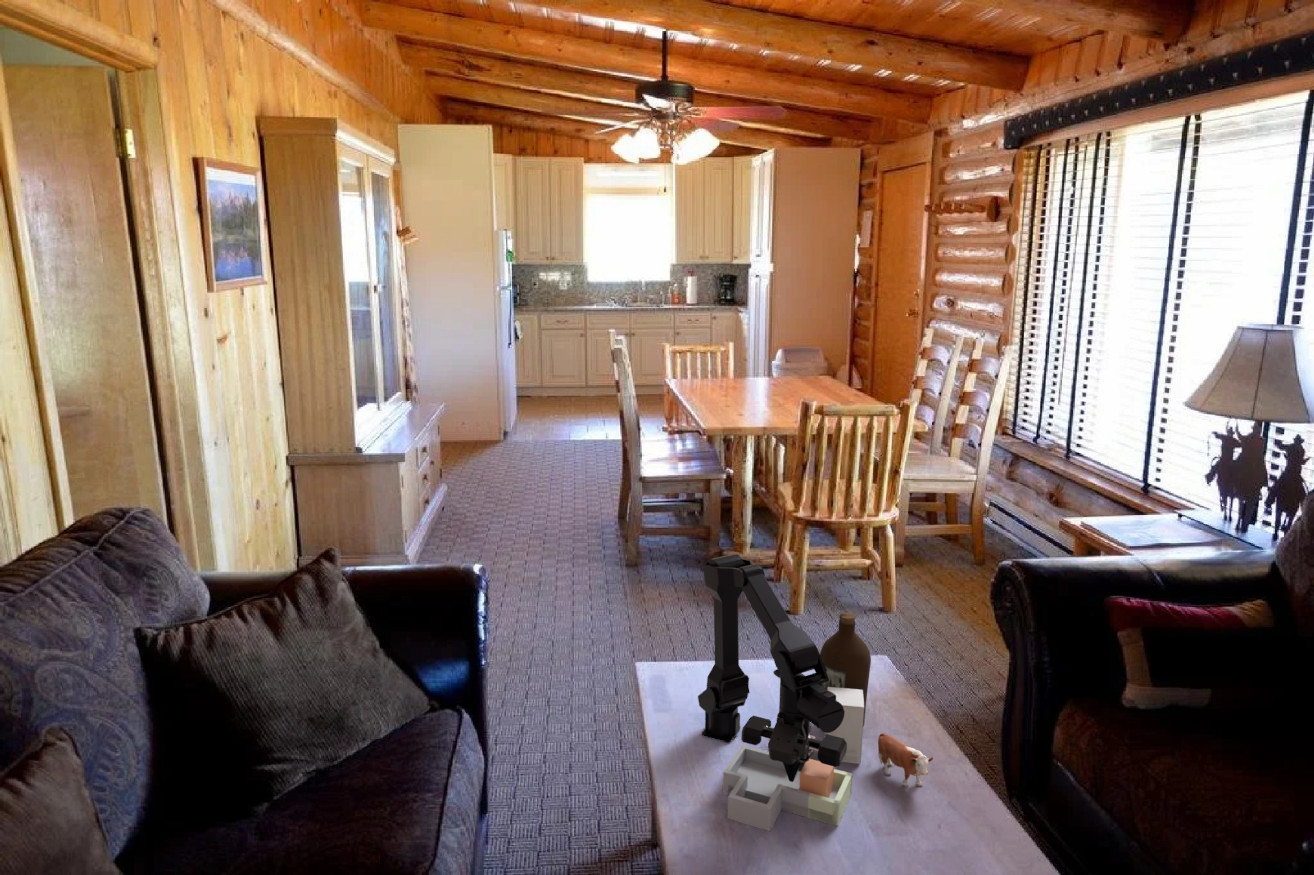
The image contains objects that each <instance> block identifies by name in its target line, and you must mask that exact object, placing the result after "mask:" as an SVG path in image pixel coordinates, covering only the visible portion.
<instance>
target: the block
mask: <svg viewBox="0 0 1314 875" xmlns="http://www.w3.org/2000/svg"><path fill="white" fill-rule="evenodd" d="M833 778H834V766H830V765H826V764H823V763H821V762H820V761H816V760H813V759H809V761H807V762H806V763H805V765H804V767H803V768H802V770H801V772H800V784H799V790H802V791H806V792H809V793H813V794H816V795H820V796H823V797H827V798H829V796H830V794H831V792H832V790H833Z"/></svg>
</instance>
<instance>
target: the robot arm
mask: <svg viewBox="0 0 1314 875" xmlns="http://www.w3.org/2000/svg"><path fill="white" fill-rule="evenodd" d="M703 577H704V581H705V587H706V589H707V590H708V592H709V593H710V594H711V596H712V597H713V626H714V628H713V630H714V632H713V633H714V634H713V636H714V664H713V666H712V668H711V670H710V671H709V672H708V673H709V674H708V675H707V679H706V681H707V682H706V689H705V690H704V691H702V692H701V693H700V694H699V695H697V700H698V706H699V707H700V708H701V709H702V710H703V711H704V715H705V716H704V730H702V733H701V736H702V737H705V738H710V739H713V740H717V741H721V742H723V743H724V742H725V743H729V744H730V743H732V741H733V740H734V738H736V736H737V735H738V733H739V732H740V731H741V736H740V737H741V739H740V740H741V742H743V743H745V744H748V745H752V746H758V745H759V744H761V742H762V738H767V739H769V740H768V743H767V747H768V748H767V749H768V752H769V757H770V759H771V760H774V761H776V760H777V761H780V762H783V765H784V768H785V770H786V773H787V776H788V779H789V781H791V782H793V781H794V779H795V777H796V775H797V773H798V770H799V768H800V766H801V763H802V761H804V762H807V761H809V759H810V757H811V756H812V754H813V752H814V751H816V752H818V759H819V761H820V762H821V763H823V764H826V765H830V766H834V767H837V768H838V767H841V766H840V765H841V764H842V763H843V762H842V760H843V758H844V756H845V754H846V752H847V743H846V741H845V740H844V738H840V737H836V736H832V735H828V734H826V735H825V733H830V732H833V731H834V730H836V729H837V728H838V727H839V726H840V725H841V723H842V721H843V718H844V714H845V711H844V709H843V706H842V704H841V703H839V702H838V701H836V695H835V694H834V693H832V692H830V691H828V690H826V689H825V688H823V687H822V684H823V683H826V682H829V678H828V675H827V673H826V671H827V669H826V667H825V665H824V663H823V661H822V659H821V656H820V650H819V649H818V647H817V645H816V644H815V642H814V641H813V640H812V638H811V637H810V636H809V635H808V633H807V632H806V631H805V630H803V629H801V628H800V627H798V626H796V625H795V624H794V622H792V620H791V618H790V617H789V615H788V613H787V612H786V610H785V609H784V606H783V605H782V603H781V601H780V600H779V599H778V597H777V595H776V594H775V591H774V590H773V589H772V586H771V585H770V583H769V582H768V580H767V578H766V575H765V570H764V568H763V567H762V566H761V565H760V564H757V563H754V561H753V560H751V559H748V558H743V557H741V555H739V554H738V553H732V554H728V555H721V556H717V557H713V558H710V559H707V561H706V562H705V563H704V567H703ZM742 593H743V594H744V595H745V597H746V599H747V600H748V602H749V604H750V605H751V608H752V609H753V611H754V613H755V615H756V616H757V618H758V620H759V621H760V623H761V625H762V627H763V629H764V630H765V632H766V635H768V638H769V640H770V649H769V652H770V654H771V656H772V660H773V662H774V665H775V668H776V669H775V670H773V671H772V672H773V673H772V674H773V675H775V677H777V678H778V679H779V681H780V682H779V701H778V702H779V705H778V706H779V707H778V713H777V714H776V723H775V725H774V727H772V721H771V719H769V718H765V717H761V716H757V715H752V716H750V717H749V719H748V720H747V722H746V723H745V725H744V726H743V727H742V730H741V713H739V708H740V707H743V706H745V703H746V701H747V700H748V697H749V694H750V693H751V692H750V686H749V684H750V682H749V681H750V678H749V675H747V674H745V672H744V671H743V669H742V668H741V666H740V661H739V660H740V659H739V658H740V657H739V656H740V655H739V653H740V651H739V650H740V649H739V646H740V644H739V638H740V637H739V598H740V596H741V595H742ZM813 670H814V673H811V674H807V675H805V674H804V673H807V672H810V671H813ZM811 724H812V725H813V726H815V727H816V728H818V729H819V730H820V731H822V732H823V733H824V736H823V739H822V740H820V739H816V736H814V735H810V733H811V732H812V726H811Z"/></svg>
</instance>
